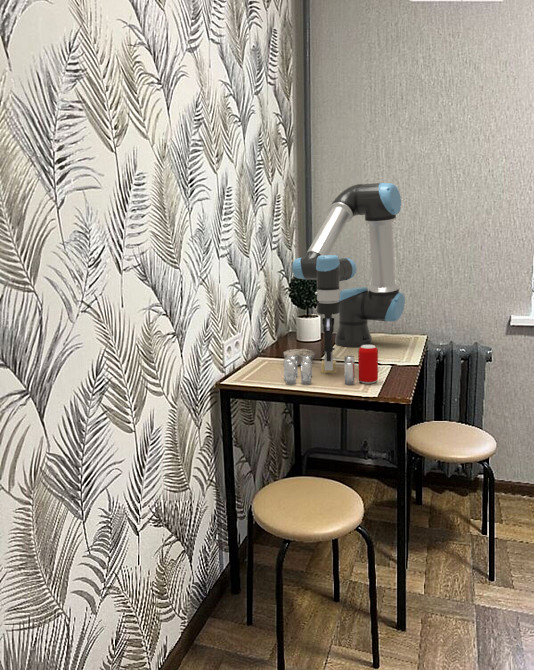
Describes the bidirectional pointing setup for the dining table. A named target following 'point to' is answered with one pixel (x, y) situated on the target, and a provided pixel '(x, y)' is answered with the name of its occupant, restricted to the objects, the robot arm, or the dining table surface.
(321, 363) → the nut
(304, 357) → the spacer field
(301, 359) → the rock
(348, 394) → the dining table surface
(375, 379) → the beverage can
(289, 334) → the dining table surface
